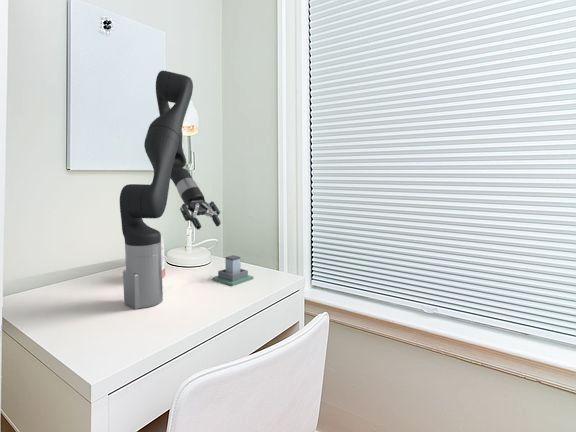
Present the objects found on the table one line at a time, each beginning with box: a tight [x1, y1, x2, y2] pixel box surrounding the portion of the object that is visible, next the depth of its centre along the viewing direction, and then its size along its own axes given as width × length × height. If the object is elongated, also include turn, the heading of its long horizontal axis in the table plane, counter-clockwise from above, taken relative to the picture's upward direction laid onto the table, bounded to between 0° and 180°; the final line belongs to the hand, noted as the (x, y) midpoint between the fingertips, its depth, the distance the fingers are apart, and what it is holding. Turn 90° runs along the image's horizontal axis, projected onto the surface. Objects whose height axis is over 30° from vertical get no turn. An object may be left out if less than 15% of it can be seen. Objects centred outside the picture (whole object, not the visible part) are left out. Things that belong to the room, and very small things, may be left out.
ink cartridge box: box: [161, 235, 166, 279], centre depth 112 cm, size 9×5×15 cm, turn 179°
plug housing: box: [225, 254, 241, 275], centre depth 115 cm, size 4×4×7 cm
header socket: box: [211, 268, 254, 287], centre depth 115 cm, size 10×10×3 cm
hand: (209, 226), depth 120 cm, fingers open, 8 cm apart
